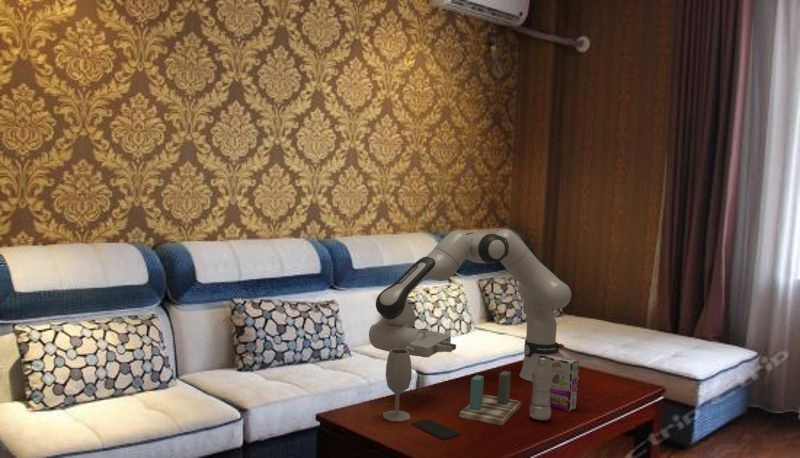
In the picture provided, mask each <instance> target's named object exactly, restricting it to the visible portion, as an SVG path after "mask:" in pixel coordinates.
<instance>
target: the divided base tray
mask: <svg viewBox="0 0 800 458" xmlns="http://www.w3.org/2000/svg"><path fill="white" fill-rule="evenodd" d="M497 403H498V396H494V395H488V394H484V393H483V401H482V408H480V409H479V410H473V409H470V403H469V404H468V405H466V406H465V407H463V408H462V410H460V411H459V414H458V415H459V416H458V417H459V418H463V419H467V420H468V419H469V420H473V421H478V422H482V423H486V424H493V425H496V426H497V425H498V426H504V424H506V423H507V422H508V421H509V420H510V418H511V417H512V416H513V415H515V413H517V412H518V410H519V409H520V408H521V407H522V401H519V400H516V399H515V400H514V399H511V398H509V403H508V404H506V405H502V404H497Z"/></svg>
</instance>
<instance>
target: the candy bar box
mask: <svg viewBox="0 0 800 458" xmlns="http://www.w3.org/2000/svg"><path fill="white" fill-rule="evenodd" d="M547 356H548V357H549V358H550V359H549V362H550V363H549V364H548V365H549V367H550V368H551V370H552V373H553V378H552V383H551V390H550V406H551V408H554V409H559V410H562V411H565V412H567V413H568V412H572V411H574V410H576V409H577V401H578V400H577V399H578V398H577V397H578V382H579V381H578V377H579V366H580V360H577V359H572V358H567V357H566V358H564V357H559V356H555V355H547Z"/></svg>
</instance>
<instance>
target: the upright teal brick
mask: <svg viewBox="0 0 800 458" xmlns="http://www.w3.org/2000/svg"><path fill="white" fill-rule="evenodd" d="M484 379H485V377H484V376H483V375H478V374H477V375H475V376H473V377H472V378H471V379H470V392H469V393H470V395H469V404H470V409H473V410H479V409H480V408H482V401H483V394H484V381H485V380H484Z"/></svg>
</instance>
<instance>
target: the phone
mask: <svg viewBox="0 0 800 458" xmlns="http://www.w3.org/2000/svg"><path fill="white" fill-rule="evenodd" d="M410 424H412V425H413V426H412V425H411V426H412V427H414V426H415V428H416V427H417V428H416V429H418V428H419V430H420V429H421V430H420V431H423V432H424V433H427V434H429V435H430V436H433V437H435V438H436V439H439V440H442V441H446V440H450V439H453V438H457V437H460V436H461V433H460V432H459V431H457V430H454V429H452V428H450V427H447V426H445V425H443V424H442V423H438V422H436V421H434V420H432V419H429V418H427V419H423V420H417V421H414V422H411V423H410Z"/></svg>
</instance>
